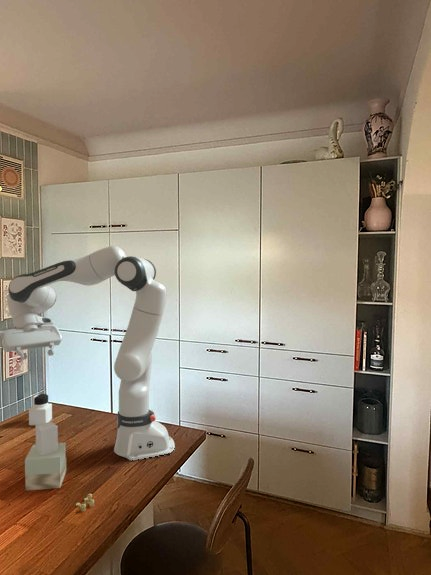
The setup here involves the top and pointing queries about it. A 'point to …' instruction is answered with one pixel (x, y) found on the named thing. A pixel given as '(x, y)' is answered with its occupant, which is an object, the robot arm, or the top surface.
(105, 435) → the top surface
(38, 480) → the birch block
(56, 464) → the sage block
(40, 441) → the grey block
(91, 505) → the beige lumpy cluster
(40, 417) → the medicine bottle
